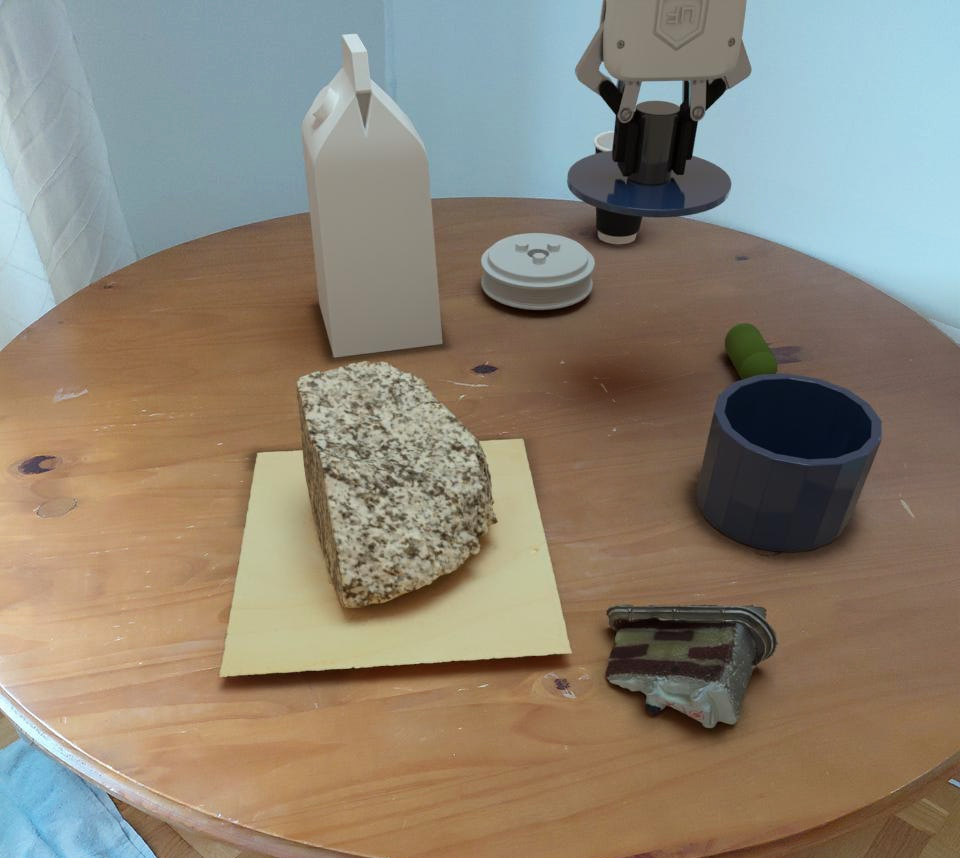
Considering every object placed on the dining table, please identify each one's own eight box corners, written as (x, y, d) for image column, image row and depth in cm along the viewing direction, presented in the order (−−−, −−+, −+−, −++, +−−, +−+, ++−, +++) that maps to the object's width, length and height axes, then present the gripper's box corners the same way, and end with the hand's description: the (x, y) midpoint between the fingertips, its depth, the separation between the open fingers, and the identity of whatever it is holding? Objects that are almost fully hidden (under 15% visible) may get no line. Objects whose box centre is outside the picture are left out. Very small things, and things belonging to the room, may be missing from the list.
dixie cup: (578, 225, 114) (585, 131, 106) (638, 221, 115) (649, 127, 107) (594, 252, 109) (603, 154, 101) (656, 247, 110) (670, 150, 101)
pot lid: (705, 160, 80) (719, 79, 75) (748, 222, 71) (768, 134, 66) (555, 165, 79) (560, 83, 75) (580, 228, 70) (587, 139, 65)
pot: (818, 455, 80) (846, 370, 74) (871, 547, 71) (909, 460, 65) (680, 462, 79) (697, 377, 73) (718, 556, 71) (741, 468, 64)
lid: (518, 328, 96) (519, 283, 92) (461, 282, 103) (460, 238, 99) (613, 300, 100) (618, 256, 96) (552, 258, 107) (554, 215, 104)
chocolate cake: (565, 692, 62) (698, 672, 52) (596, 607, 64) (727, 574, 55) (656, 754, 66) (794, 747, 56) (681, 672, 69) (817, 652, 59)
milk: (442, 343, 93) (433, 57, 74) (333, 357, 92) (295, 67, 72) (420, 292, 101) (406, 21, 82) (319, 303, 99) (281, 29, 80)
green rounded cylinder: (717, 349, 93) (724, 317, 90) (751, 348, 93) (759, 315, 90) (741, 395, 87) (749, 362, 84) (777, 393, 87) (786, 360, 84)
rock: (250, 450, 80) (322, 290, 71) (458, 534, 89) (547, 402, 79) (209, 674, 60) (302, 493, 51) (484, 755, 69) (607, 613, 59)
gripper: (576, -109, 57) (557, 190, 71) (826, -111, 58) (761, 184, 72) (559, -126, 62) (544, 156, 76) (789, -128, 63) (735, 151, 77)
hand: (650, 167), depth 74 cm, fingers closed on pot lid, 3 cm apart
